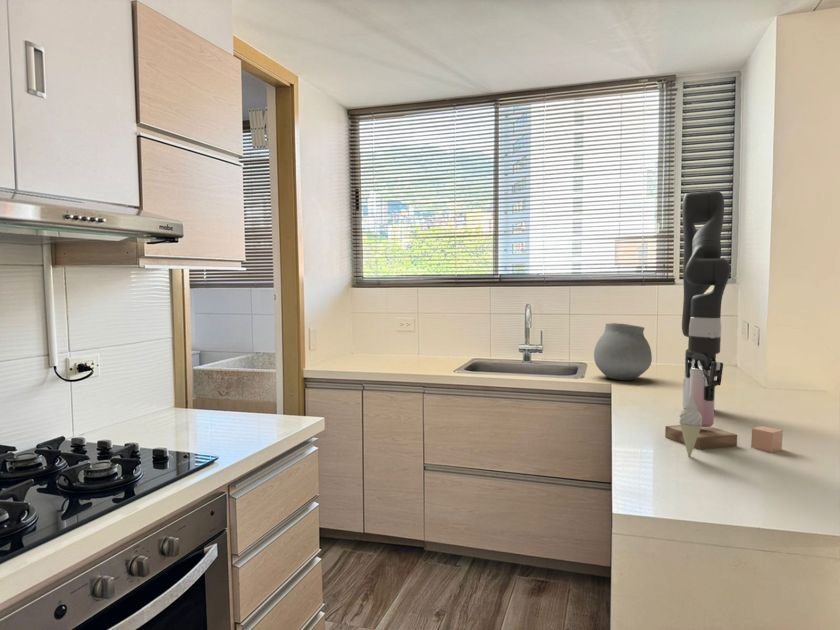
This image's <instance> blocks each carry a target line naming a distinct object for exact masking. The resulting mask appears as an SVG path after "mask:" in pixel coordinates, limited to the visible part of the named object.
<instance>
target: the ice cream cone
mask: <svg viewBox="0 0 840 630" xmlns="http://www.w3.org/2000/svg"><path fill="white" fill-rule="evenodd" d="M678 422H679V425H681V429H682V433H683V437H684V441H685V444H684V446H685V449H686V452H687V456H688V457H689V458H690V457H691V456H692V453H693V451H694V449H695V448H694V445H695V442H696V440H697V437H698V434H699V431H700V428H701V426H702V425H703V424H702V423H701V422H702V416H701V414H700V413H699V412H698V410H697V405H696V404H695V402H694V399H693V397H692V395H691V397H690V399H689V401H688V403H687V404H686V406H685V408H684V409H683V410H682V411H681V412H680V414H679V421H678Z"/></svg>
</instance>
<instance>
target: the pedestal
mask: <svg viewBox="0 0 840 630" xmlns="http://www.w3.org/2000/svg"><path fill="white" fill-rule="evenodd" d="M664 431H665V432H664V437H665V438H667V439H669V440H672V441H675V442H678V443H681V444H684V445H685V441H684V437H683V433H682V429H681V425H680V424H679V425H678V424H677V425H676V424H675V425H665V430H664ZM737 445H738V434H737V433H733V432H730V431H727V430H724V429H720V428H717V427H714V426H711V427H701V428H700V431H699V434H698V437H697V440H696V442H695V445H694V448H693V449H697V450H707V449H709V450H711V449H718V448H719V449H720V448H729V447H737Z"/></svg>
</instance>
